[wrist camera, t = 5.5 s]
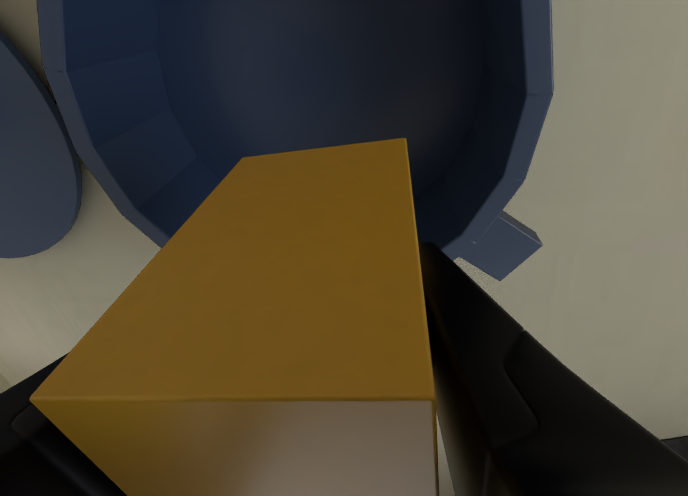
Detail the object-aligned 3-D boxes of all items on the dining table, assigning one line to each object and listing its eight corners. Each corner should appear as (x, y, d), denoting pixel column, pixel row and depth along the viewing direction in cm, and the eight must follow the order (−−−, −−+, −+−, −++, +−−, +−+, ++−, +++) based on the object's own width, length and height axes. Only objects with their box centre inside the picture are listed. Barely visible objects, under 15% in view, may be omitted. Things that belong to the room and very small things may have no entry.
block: (281, 282, 12) (182, 551, 6) (241, 156, 10) (24, 400, 4) (415, 274, 11) (441, 569, 5) (405, 137, 9) (436, 397, 3)
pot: (400, 292, 25) (403, 374, 20) (65, 106, 20) (-53, 148, 15) (630, 59, 16) (748, 93, 11) (135, -377, 11) (-97, -712, 6)
